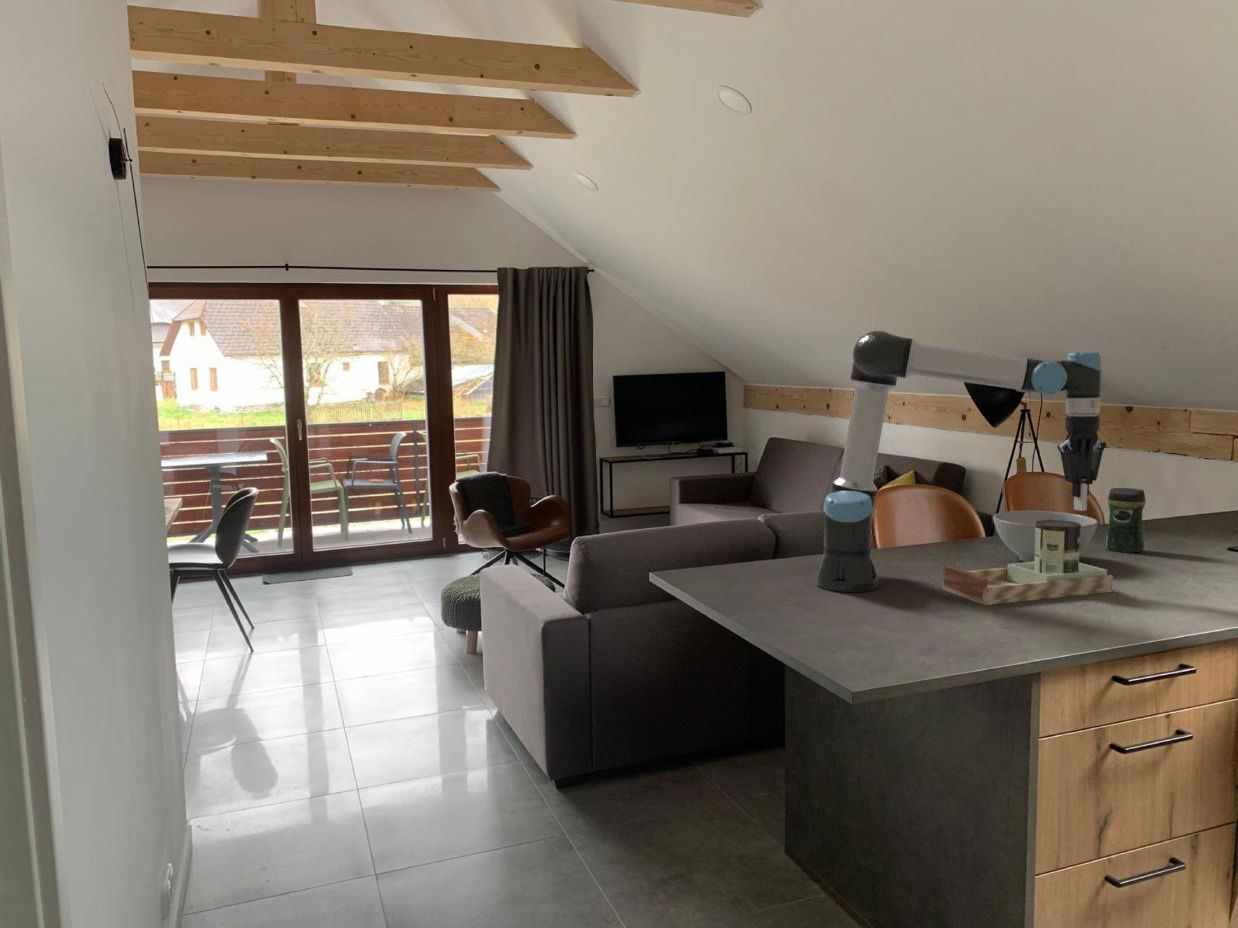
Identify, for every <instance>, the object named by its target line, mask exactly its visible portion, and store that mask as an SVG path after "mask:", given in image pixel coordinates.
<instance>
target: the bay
mask: <svg viewBox="0 0 1238 928" xmlns="http://www.w3.org/2000/svg"><path fill="white" fill-rule="evenodd" d="M943 572H944V573H942V574H941V576H942V577H941V578H942V579H941V590H943V591H946V592H949V593H951V594H954V595H956V596H959V597H962V598H964V599H968V600H970V601H973V602H976V603H977V604H978V603H979V604H981V605H984V606H988V605H989V606H990V605H997V604H999V605H1000V604H1007V603H1008V604H1009V603H1018V602H1028V601H1036V600H1038V601H1039V600H1046V599H1055V598H1056V599H1057V598H1064V597H1074V596H1075V597H1076V596H1085V595H1093V594H1095V595H1096V594H1103V593H1112V592H1113V582H1114V581H1113V580H1114V575H1112V574H1107V575H1105V576H1095V577H1085V578H1075V579H1065V580H1054V581H1044V582H1034V583H1024V584H1019V583H1016V582H1013V581H1010V580H1007V567H999V568H988V569H978V570H975V569H974V570H962V569H959V568H957V567H953V566H949V565H945V566H944V571H943Z"/></svg>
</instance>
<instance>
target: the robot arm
mask: <svg viewBox="0 0 1238 928" xmlns="http://www.w3.org/2000/svg"><path fill="white" fill-rule="evenodd" d="M852 356H853V362H852V367H851V375H850V382H851V384H852V385H853V386H854V390H853V391H854V392H853V397H852V403H851V404H852V405H851V410H850V414H849V421H848V425H847V426H848V427H847V434H846V438H845V439H846V440H845V446H844V451H843V455H842V456H843V457H842V461H841V467H840V474H839V477H837V478H836V479H835V480H833V482H832V487H831V491H830V492H831V493H829V494H827V495H826V496H825V498H824V504H823V511H824V512H823V513H824V515H823V516H824V517H823V519H824V521H823V527H824V528H823V533H824V534H823V556H822V559H821V561H820V565H819V567H818V571H817V573H816V577H815V578H816V582H815V584H816V586H817V587H820V588H821V589H825V590H829V591H835V592H842V593H843V592H845V593H860V592H863V593H864V592H869V591H874V590H875V589H877V588H878V583H879V582H878V576H877V572H876V568H875V566H874V562H873V559H872V556H871V555H872V523H873V520H874V515H875V506H876V500H877V494H878V493H877V492H878V487H877V485H875V483H874V477H875V473H876V471H875V470H876V466H877V460H878V453H879V449H880V442H881V437H882V431H883V426H884V419H885V414H886V408H887V403H888V397H889V392H891V391H892V390H894V389H895V388H896V386H897V381H898V378H902V379H903V378H905V379H907V378H909V377H910V376H912V375H913V376H918V377H919V376H920V377H927V378H933V379H934V378H935V379H940V380H948V381H955V382H962V383H971V384H977V385H983V386H993V387H999V388H1004V389H1005V388H1006V389H1012V390H1015V391H1016V392H1021V393H1024V392H1025V393H1039V394H1042V395H1053V394H1056V393H1057V392H1066V394H1065V397H1066V399H1065V414H1067V416H1065V430H1066V432H1067V434H1066V437H1065V441H1064V442H1063V443H1058V444H1057V446H1056V447H1057V449H1058V452H1059V453H1060V459H1061V463H1062V470H1063V475H1064V481H1066V482H1068V483H1069V484H1071V485H1072V487H1071V488H1072V489H1071V491H1072V492H1071V495H1072V497H1073V510H1074V511H1075V510H1076V511H1081V512H1082V511H1083V512H1085V511H1088V510H1087V507H1088V497H1089V494H1090V485H1092V484H1094V481H1095V482H1096V481H1097V478H1098V475H1099V471H1100V466H1101V462H1102V456H1103V452H1104V450H1105V449H1106V447H1107V443H1106V442H1105V441H1104V442H1103V441H1102V440H1100V439H1099V435H1098V431H1100V427H1101V426H1100V424H1101V423H1100V421H1101V420H1100V419H1101V417H1100V416H1099V414H1100V413H1101V383H1102V371H1103V370H1102V361H1101V360H1102V359H1101V358H1102V357H1101V354H1100V353H1099V352H1097V351H1087V352H1086V351H1085V352H1084V351H1080V352H1068V354H1067V356H1066V358H1065V359H1066V360H1042V359H1041V360H1040V359H1033V358H1025V357H1019V356H1011V355H1003V354H998V353H997V354H996V353H989V352H982V351H981V352H980V351H973V350H969V349H968V350H966V349H959V348H952V347H944V346H937V345H929V344H923V343H921V344H920V343H918V342H917V341H916V340H915V339H914V338H909V337H908V338H907V337H903V336H898V335H894V334H892V333H889V332H888V331H887V332H886V331H883V330H873V331H872V330H871V331H870V332H867V333H865V334H864V335H862V336H861V337H860V338H859V339H858V340H857V341H856V343H855V345H854V348H853V351H852Z"/></svg>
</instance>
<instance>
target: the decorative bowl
mask: <svg viewBox="0 0 1238 928" xmlns="http://www.w3.org/2000/svg"><path fill="white" fill-rule="evenodd" d="M992 517H993V523H994V527H995V530H996V532H997V534H998V535H999V537H1000V540H1002V542H1003V543H1004V545H1005V546H1006V547H1007V548H1008V549H1009V550H1010V551H1012V552H1013V553H1014V554H1016V555H1018V560H1020V561H1022V562H1023V563H1026V562H1035V532H1036V525H1035V522H1036V521H1041V520H1062V521H1071V522H1076V523H1079V524H1081V528H1080V549H1079V553H1080V552H1081V551H1083V550H1084V549H1085V548H1086V547H1087V546H1088V544H1089V543H1090V542H1091V540H1092V539H1093V536H1094V535H1095V533H1096V530H1097V528H1098V525H1099V521H1098V520H1097V519H1095V518H1093V517H1090V516H1087V515H1082V514H1076V513H1070V512H1069V513H1068V512H1060V511H1049V510H1048V511H1046V510H1042V511H1041V510H1011V511H1002V512H998V513H995V514H994V515H993V516H992Z"/></svg>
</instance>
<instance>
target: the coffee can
mask: <svg viewBox="0 0 1238 928" xmlns="http://www.w3.org/2000/svg"><path fill="white" fill-rule="evenodd" d="M1035 525H1036V532H1035V564H1034V571H1036V572H1039V573H1043V574H1046V575H1051V574H1061V573H1072V572H1079V563H1080V552H1079V549H1080V528H1081V524H1079V523H1076V522H1071V521H1062V520H1041V521H1036V522H1035Z"/></svg>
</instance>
